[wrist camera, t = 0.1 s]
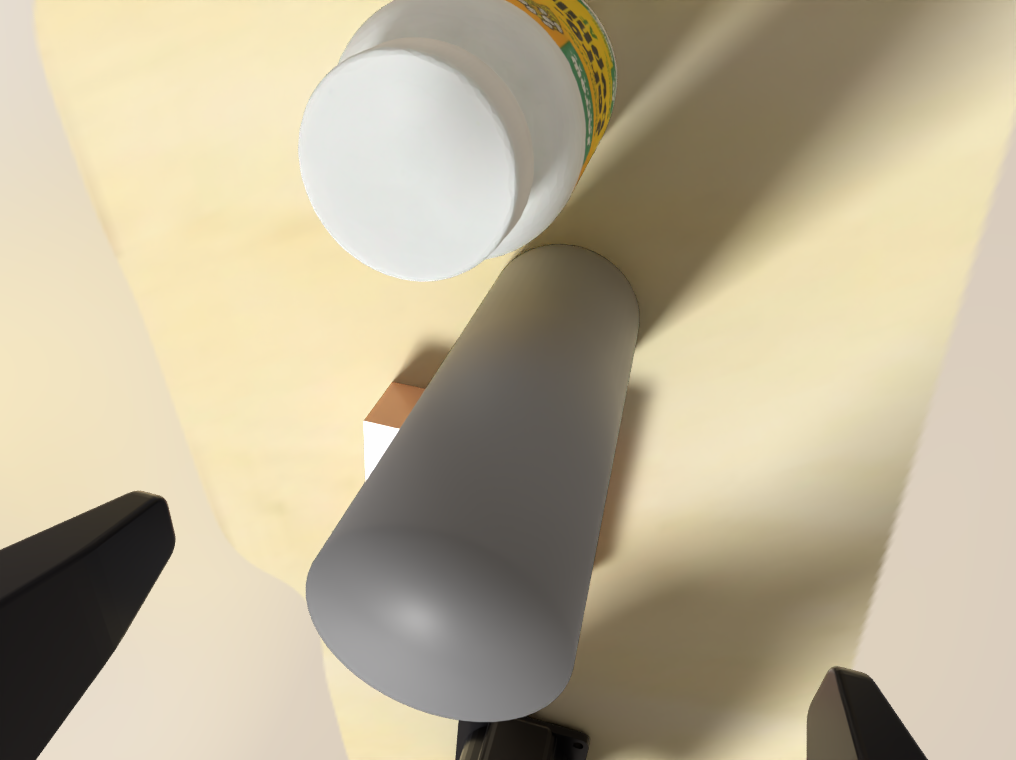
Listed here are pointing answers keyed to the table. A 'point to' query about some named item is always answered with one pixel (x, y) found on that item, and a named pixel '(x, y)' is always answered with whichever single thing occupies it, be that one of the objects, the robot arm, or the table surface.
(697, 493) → the table surface
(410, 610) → the charcoal mill
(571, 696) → the table surface
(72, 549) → the robot arm
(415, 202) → the supplement bottle
